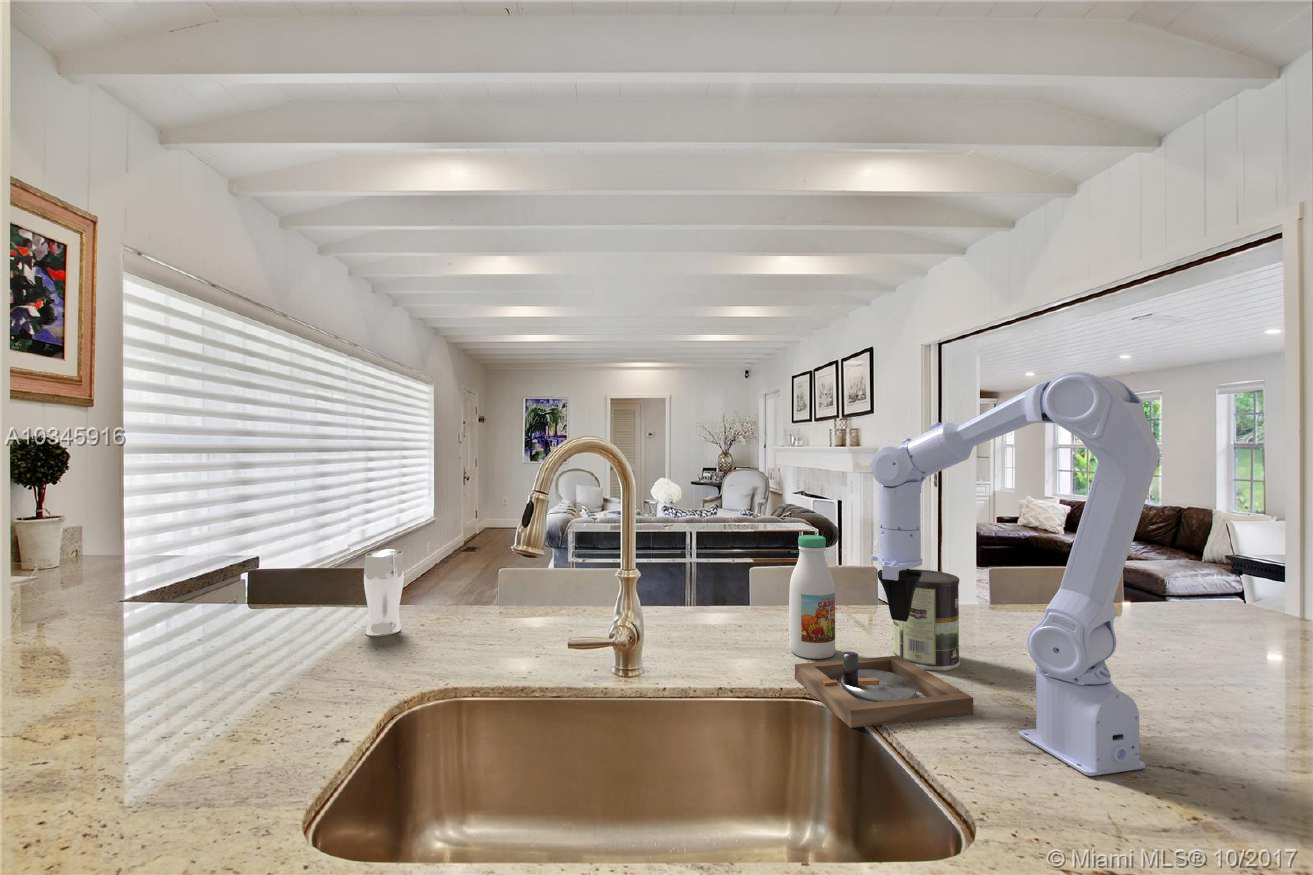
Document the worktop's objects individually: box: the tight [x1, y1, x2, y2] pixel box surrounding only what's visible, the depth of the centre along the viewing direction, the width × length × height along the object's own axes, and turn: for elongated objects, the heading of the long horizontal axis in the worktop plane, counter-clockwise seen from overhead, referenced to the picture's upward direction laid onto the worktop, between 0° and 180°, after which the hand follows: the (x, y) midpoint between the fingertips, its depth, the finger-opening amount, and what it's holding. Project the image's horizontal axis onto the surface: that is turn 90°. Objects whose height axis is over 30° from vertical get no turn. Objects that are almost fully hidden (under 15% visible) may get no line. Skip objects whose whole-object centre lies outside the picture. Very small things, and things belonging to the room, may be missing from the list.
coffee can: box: [892, 568, 961, 672], centre depth 98 cm, size 10×10×14 cm
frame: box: [794, 655, 974, 729], centre depth 84 cm, size 16×18×3 cm
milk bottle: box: [788, 534, 836, 660], centre depth 101 cm, size 8×8×20 cm
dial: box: [840, 650, 917, 703], centre depth 84 cm, size 10×10×6 cm
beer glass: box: [363, 549, 405, 637], centre depth 112 cm, size 7×7×15 cm
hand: (899, 619), depth 87 cm, fingers closed
